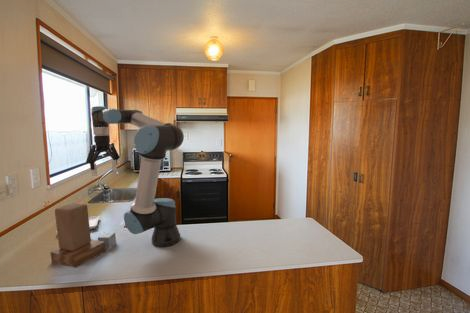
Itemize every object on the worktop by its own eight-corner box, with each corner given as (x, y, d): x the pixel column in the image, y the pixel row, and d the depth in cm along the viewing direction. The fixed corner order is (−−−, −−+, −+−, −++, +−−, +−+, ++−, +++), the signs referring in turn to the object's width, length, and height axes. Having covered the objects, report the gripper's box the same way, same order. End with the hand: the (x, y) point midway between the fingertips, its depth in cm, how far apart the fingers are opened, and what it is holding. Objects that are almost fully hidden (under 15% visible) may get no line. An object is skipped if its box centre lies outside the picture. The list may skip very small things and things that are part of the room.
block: (73, 252, 117) (68, 210, 115) (58, 249, 121) (53, 208, 118) (92, 242, 127) (88, 204, 124) (77, 240, 130) (73, 202, 128)
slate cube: (116, 243, 137) (115, 232, 136) (109, 248, 131) (108, 237, 130) (105, 243, 137) (104, 232, 137) (98, 248, 131) (97, 237, 131)
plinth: (105, 251, 128) (104, 241, 128) (76, 267, 113) (74, 257, 113) (82, 246, 134) (81, 237, 133) (51, 262, 119) (50, 252, 118)
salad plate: (64, 225, 166) (63, 220, 166) (100, 219, 174) (100, 214, 174) (56, 237, 147) (55, 232, 146) (97, 230, 155) (96, 225, 155)
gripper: (114, 134, 152) (117, 169, 155) (75, 136, 129) (79, 177, 132) (124, 134, 149) (127, 169, 152) (86, 136, 126) (90, 178, 129)
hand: (105, 173), depth 142 cm, fingers open, 13 cm apart
